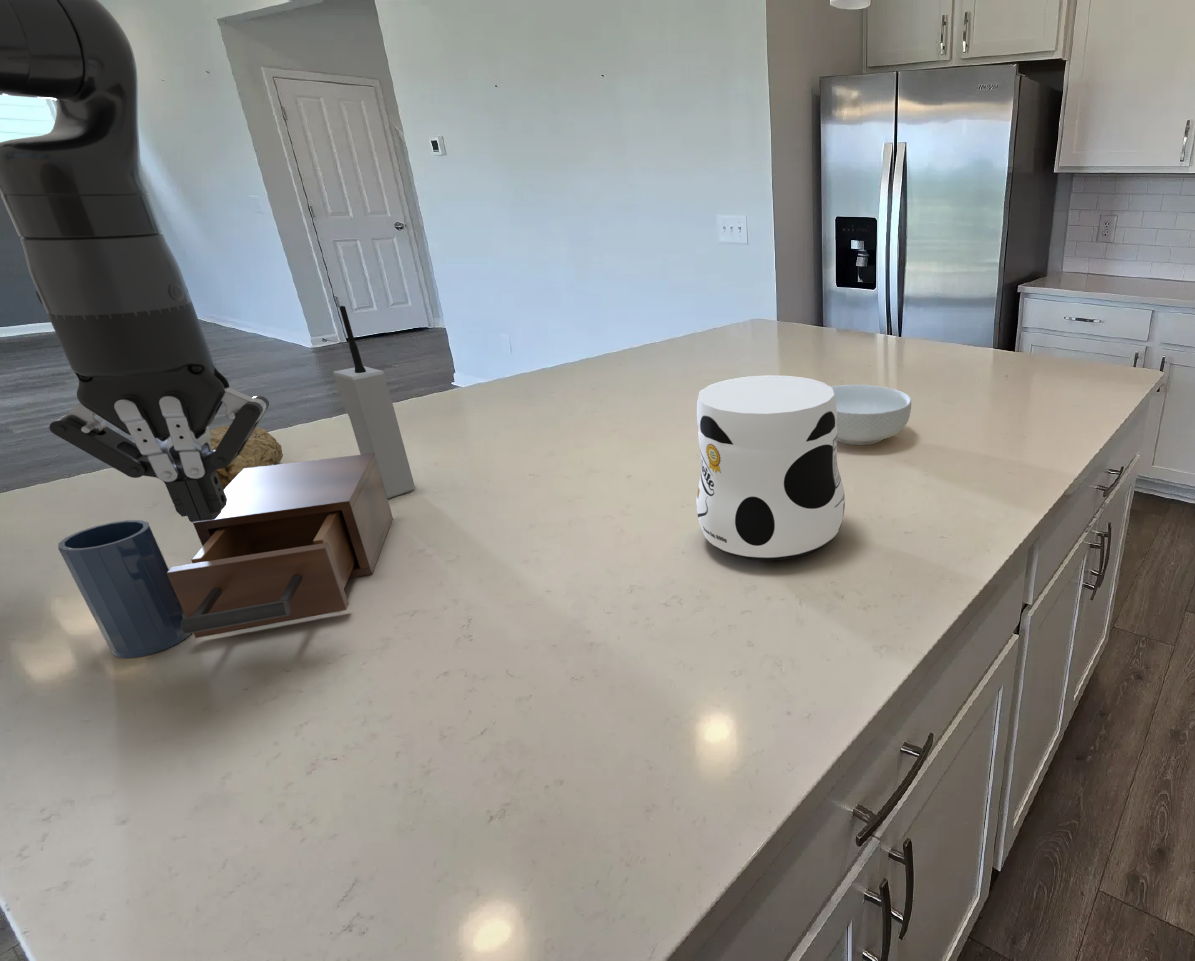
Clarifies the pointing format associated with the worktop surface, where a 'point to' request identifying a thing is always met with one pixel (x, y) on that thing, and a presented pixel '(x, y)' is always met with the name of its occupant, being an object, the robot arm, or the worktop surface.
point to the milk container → (769, 466)
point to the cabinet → (313, 500)
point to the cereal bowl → (869, 413)
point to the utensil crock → (126, 586)
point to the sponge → (248, 453)
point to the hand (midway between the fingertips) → (206, 516)
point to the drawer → (265, 574)
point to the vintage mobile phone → (374, 418)
